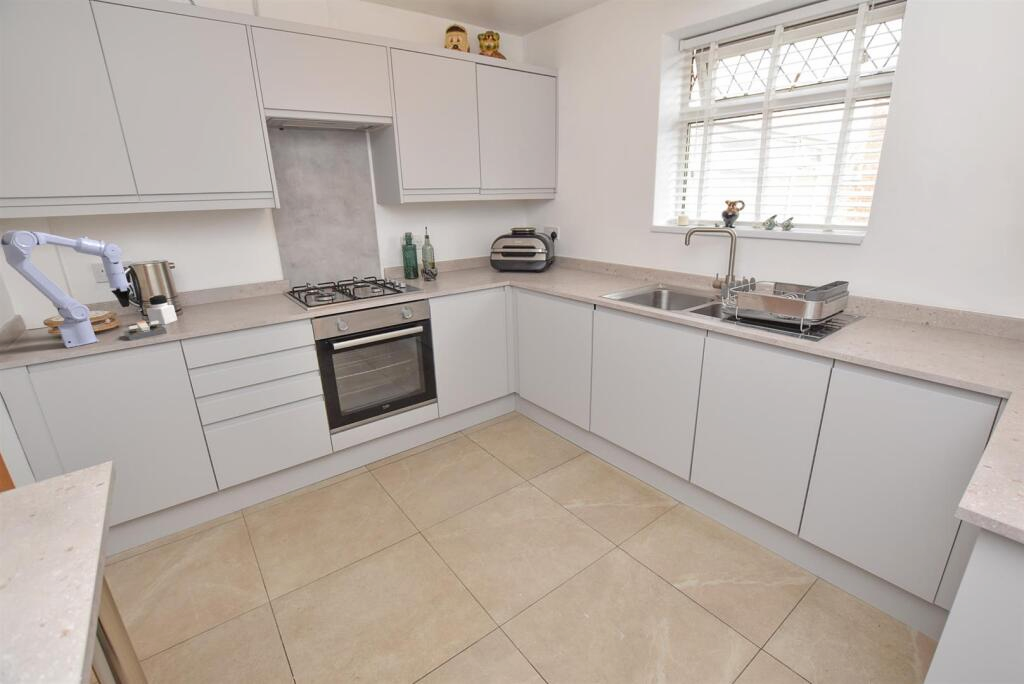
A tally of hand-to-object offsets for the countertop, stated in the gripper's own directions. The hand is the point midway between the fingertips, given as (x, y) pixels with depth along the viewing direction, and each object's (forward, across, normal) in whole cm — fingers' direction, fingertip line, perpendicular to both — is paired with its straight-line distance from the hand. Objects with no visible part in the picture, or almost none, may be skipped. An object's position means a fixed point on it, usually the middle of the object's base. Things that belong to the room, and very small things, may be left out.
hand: (125, 306), depth 192 cm
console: (+10, -12, -2) cm, 16 cm away
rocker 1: (+7, -12, +2) cm, 13 cm away
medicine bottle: (+11, +5, -12) cm, 17 cm away
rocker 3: (+7, -12, -6) cm, 14 cm away
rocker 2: (+7, -12, -2) cm, 14 cm away
